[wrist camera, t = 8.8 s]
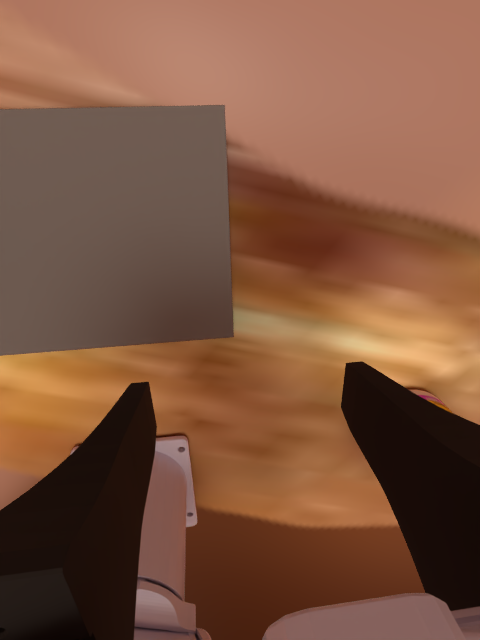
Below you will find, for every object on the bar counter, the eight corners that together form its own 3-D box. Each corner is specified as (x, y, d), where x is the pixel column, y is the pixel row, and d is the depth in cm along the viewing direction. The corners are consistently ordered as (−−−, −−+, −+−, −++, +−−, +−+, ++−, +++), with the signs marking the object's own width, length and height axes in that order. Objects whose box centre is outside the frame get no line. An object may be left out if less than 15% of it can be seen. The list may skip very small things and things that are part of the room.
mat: (231, 329, 22) (233, 336, 22) (-153, 359, 20) (-169, 368, 20) (223, 107, 17) (224, 104, 16) (-298, 117, 15) (-328, 115, 14)
